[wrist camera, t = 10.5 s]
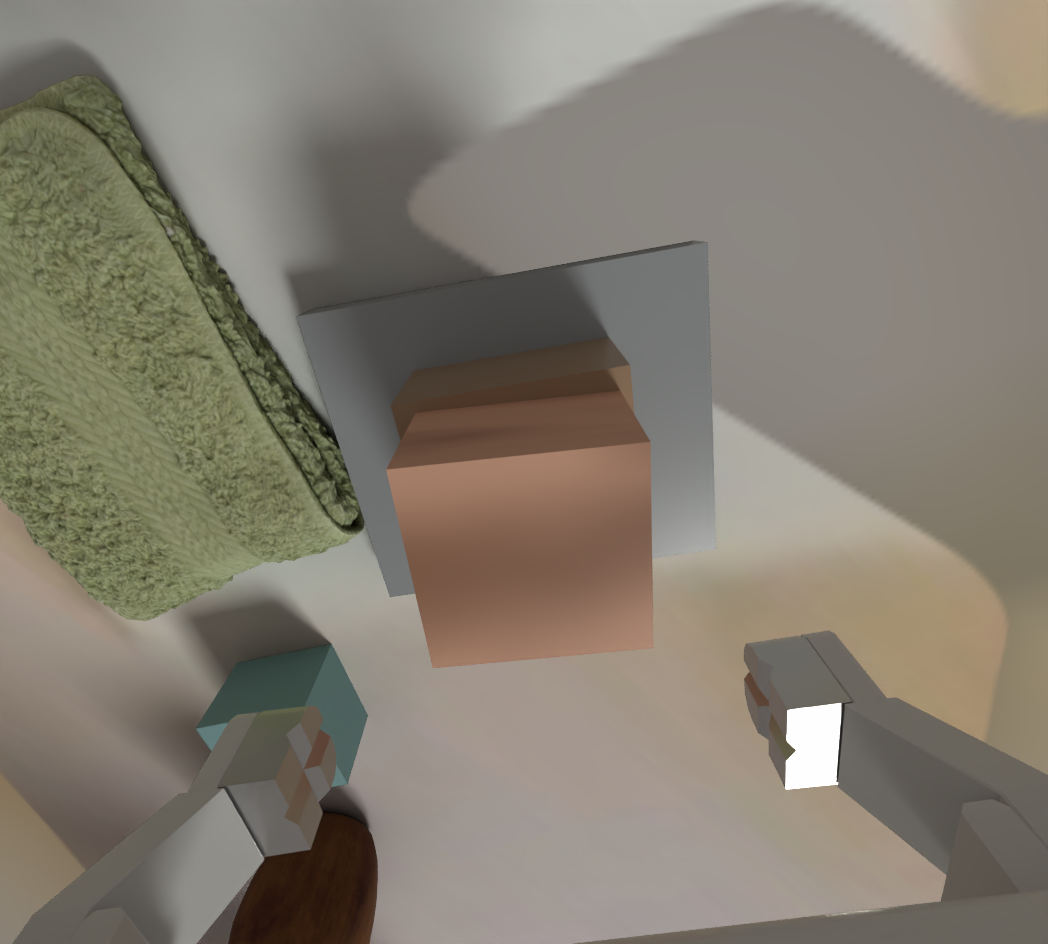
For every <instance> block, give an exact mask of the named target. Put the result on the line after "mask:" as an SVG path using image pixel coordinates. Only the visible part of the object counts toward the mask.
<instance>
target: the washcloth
mask: <svg viewBox="0 0 1048 944" xmlns="http://www.w3.org/2000/svg"><path fill="white" fill-rule="evenodd" d="M141 149H142V147H141V142H139V141H138V140H137V139H136V137H135V136H134V133H133V131H132V130H131V129H130V125H129V122H128V120H127V119H126V117H125V115H124V113H123V111H122V101H121V100H120V98H119V97H118V96H116V95H115V94H114V93H113V92H112V91H111V90H110V89H109V87H108V86H107V85H106V84H105V83H103V82H102V81H101V80H100V79H99V78H98V77H95V76H73V77H72V78H70V79H68V80H64V81H61V82H59V83H57V84H54V85H52V86H50V87H48V88H46V89H44V90H40V91H38V92H37V93H36V94H35V95H34V96H33V97H32V98H30V99H28V100H26V101H23V102H21V103H19V104H17V105H15V106H10V107H9V108H7V109H2V110H0V497H1V499H2V501H3V502H4V503H6V504H7V506H8V508H9V510H10V511H12V512H13V513H15V514H16V515H18V516H20V517H21V518H22V519H23V521H24V524H25V525H26V528H27V532H28V533H29V534H30V536H31V538H32V539H33V541H34V544H36V545H37V546H39V547H42V548H44V549H46V550H47V551H48V554H49V555H50V557H51V558H52V559H53V560H55V561H57V562H59V564H60V566H61V567H62V568H63V569H65V570H67V571H68V572H69V573H70V575H71V576H73V577H75V579H76V580H77V581H78V583H79V584H80V585H81V586H82V587H83V588H84V589H85V590H86V591H87V592H88V596H89V597H91V598H94V599H95V600H96V601H97V602H101V603H104V605H105V606H109V607H110V608H112V609H113V611H114V612H117V613H119V615H121V616H123V617H124V618H126V619H132V620H140V621H146V620H150V619H152V618H155V617H157V616H159V615H160V614H162V613H165V612H167V611H168V610H169V609H171V608H174V609H175V608H177V607H178V606H180V605H181V604H184V603H187V602H189V601H191V600H192V599H194V598H196V597H197V596H199V595H201V594H203V593H204V592H206V591H212V590H217V589H220V588H221V587H222V586H223V585H224V584H225V583H226V582H228V581H232V579H233V575H234V574H238V573H241V572H244V571H246V570H247V569H251V568H253V567H255V566H257V565H260V564H261V563H263V562H278V563H279V562H282V561H283V560H291V561H294V560H295V559H297V558H300V557H305V556H307V555H312V554H319V553H323V552H325V551H326V550H327V549H328V548H330V547H334V546H338V545H342V544H345V543H347V542H348V541H349V540H350V539H351V538H353V537H354V536H356V535H357V534H359V533H360V532H361V531H362V530H363V528H364V518H363V515H362V512H361V509H360V506H359V503H358V500H357V497H356V494H355V491H354V488H353V485H352V482H351V479H350V476H349V473H348V470H347V467H346V464H345V461H344V459H343V456H342V453H341V450H340V447H339V445H338V444H337V443H336V442H335V441H334V440H333V439H332V438H331V437H328V435H327V430H326V428H325V427H324V426H322V425H321V424H320V422H319V420H318V419H317V417H316V416H315V414H314V413H313V411H312V409H311V407H310V406H309V404H308V403H307V402H306V401H305V400H304V399H303V398H301V397H300V395H299V393H298V392H297V391H296V389H295V388H294V387H293V385H292V378H291V376H290V374H289V373H288V372H287V371H286V369H285V368H284V367H283V366H282V364H281V363H280V361H279V360H278V358H277V356H276V354H275V353H274V352H273V350H272V348H271V347H269V346H268V345H267V344H266V343H265V341H264V340H263V338H262V337H261V336H260V334H259V329H258V328H256V327H255V326H254V324H253V323H252V322H250V321H248V318H247V314H246V312H245V311H244V310H243V309H242V307H241V305H240V304H239V303H238V299H239V296H238V295H237V294H236V293H235V292H234V291H233V289H231V288H230V285H229V284H226V283H227V281H228V280H229V278H228V275H226V274H223V273H218V269H219V265H218V264H216V263H215V262H213V261H210V260H209V256H208V249H207V248H206V247H202V246H201V245H200V243H199V240H198V239H197V238H193V237H192V233H191V231H190V227H189V223H188V222H187V218H186V217H184V216H183V215H182V210H181V209H180V208H178V207H175V206H174V204H173V202H172V196H171V194H170V193H168V192H163V190H162V188H161V186H160V185H159V183H158V180H157V175H156V172H155V171H154V170H153V165H152V162H151V161H149V160H148V159H147V158H145V155H144V154H143V153H142V152H141Z"/></svg>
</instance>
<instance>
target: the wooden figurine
mask: <svg viewBox="0 0 1048 944" xmlns="http://www.w3.org/2000/svg"><path fill="white" fill-rule="evenodd" d="M377 882H378V864H377V855H376V850H375V845H374V841H373V838H372V835H371V833H370V832H369V830H368V829H367V828H366V827H365V826H364V825H363V824H362V823H360V822H358V821H357V820H355V819H353V818H351V817H348V816H345V815H342V814H338V813H328V812H323V814H322V817H321V820H320V823H319V826H318V829H317V832H316V835H315V838H314V841H313V844H312V847H311V850H305V851H299V852H292V853H286V854H280V855H273V856H267V857H265V858H264V861H263V862H262V864H261V865H260V866H259V868H258V870H257V871H256V873H255V875H254V877H253V878H252V881H251V883H250V885H249V887H248V889H247V891H246V893H245V895H244V897H243V900H242V902H241V904H240V907H239V909H238V912H237V914H236V917H235V919H234V921H233V925H232V930H231V934H230V939H229V944H369V943H370V938H371V932H372V927H373V922H374V915H375V908H376V900H377Z"/></svg>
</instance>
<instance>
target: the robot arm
mask: <svg viewBox="0 0 1048 944" xmlns="http://www.w3.org/2000/svg"><path fill="white" fill-rule="evenodd" d="M744 662H745V663H746V665H747V667H748V669H749V671H750V672H749V673H748V675H747V676H746V677H745V679H744V686H745V696H746V701H747V706H748V710H749V712H750V715H751V718H752V721H753V723H754V725H755V727H756V729H757V731H758V733H759V734H761V735H762V736H764V737H765V738H767V739H768V740H769V756H770V758H771V760H772V762H773V764H774V766H775V768H776V770H777V772H778V774H779V776H780V778H781V780H782V782H783V784H784V786H785V788H786V789H793V788H803V787H813V786H823V785H833V784H838V787H839V788H840V789H841V790H842V791H843V792H845V793H846V794H847V795H848V796H850V797H851V798H852V799H853V800H855V801H856V802H857V803H858V804H860V805H861V806H862V807H863V808H864V809H866V810H867V811H868V812H869V813H871V814H872V815H873V816H874V817H876V818H877V819H878V820H879V821H880V822H882V823H883V824H884V825H885V826H887V827H888V828H889V829H890V830H892V831H893V832H894V833H895V834H897V835H898V836H899V837H900V838H901V839H903V840H904V841H905V842H906V843H908V844H909V845H910V846H911V847H913V848H914V849H915V850H916V851H918V852H919V853H920V854H921V855H922V856H924V857H925V858H926V859H927V860H929V861H930V862H931V863H932V864H934V865H935V866H936V867H937V868H938V869H940V870H941V871H942V872H943V873H945V874H946V875H947V876H946V880H945V885H944V889H943V894H942V898H941V902H932V903H924V904H915V905H906V906H898V907H889V908H880V909H871V910H863V911H854V912H845V913H837V914H828V915H819V916H810V917H802V918H793V919H784V920H776V921H767V922H758V923H749V924H741V925H732V926H723V927H715V928H706V929H697V930H688V931H680V932H671V933H662V934H654V935H645V936H636V937H627V938H619V939H610V940H601V941H592V942H584V943H575V944H1048V775H1047V774H1045V773H1043V772H1041V771H1039V770H1037V769H1035V768H1033V767H1031V766H1029V765H1027V764H1025V763H1023V762H1021V761H1020V760H1017V759H1016V758H1013V757H1012V756H1010V755H1008V754H1006V753H1004V752H1002V751H1000V750H998V749H996V748H994V747H992V746H990V745H988V744H986V743H984V742H982V741H980V740H978V739H977V738H975V737H973V736H971V735H969V734H967V733H965V732H963V731H961V730H959V729H957V728H955V727H953V726H951V725H949V724H947V723H945V722H943V721H941V720H939V719H937V718H936V717H934V716H932V715H930V714H928V713H926V712H924V711H922V710H920V709H918V708H916V707H914V706H912V705H910V704H908V703H906V702H904V701H902V700H900V699H898V698H887V697H886V696H885V695H884V694H883V692H882V691H881V690H880V689H879V688H878V686H877V685H876V684H875V683H874V681H873V680H872V679H871V678H870V676H869V675H868V674H867V673H866V671H865V670H864V669H863V668H862V667H861V665H860V664H859V663H858V662H857V660H856V659H855V658H854V657H853V655H852V654H851V653H850V652H849V650H848V649H847V648H846V647H845V646H844V644H843V643H842V642H841V641H840V639H839V638H838V637H837V636H836V634H834V633H833V632H831V631H823V632H817V633H811V634H804V635H801V636H793V637H786V638H779V639H773V640H766V641H760V642H753V643H746V645H745V648H744ZM322 722H323V718H322V716H321V714H320V712H319V710H318V708H317V707H315V706H303V707H294V708H286V709H277V710H269V711H262V712H257V713H248V714H238V715H236V716H235V717H234V718H232V719H231V720H230V721H229V722H228V724H227V726H226V728H225V729H224V731H223V733H222V734H221V736H220V738H219V739H218V741H217V743H216V744H215V746H214V748H213V750H212V751H211V753H210V755H209V756H208V758H207V760H206V761H205V763H204V765H203V766H202V768H201V770H200V772H199V773H198V775H197V777H196V778H195V780H194V782H193V783H192V785H191V787H190V788H189V790H188V792H187V793H183V794H178V795H177V796H176V797H175V798H173V799H172V800H171V801H170V802H169V803H167V804H166V805H165V806H164V807H163V808H161V809H160V810H159V811H158V812H157V813H155V814H154V815H153V816H152V817H151V818H149V819H148V820H147V821H146V822H145V823H143V824H142V825H141V826H140V827H138V828H137V829H136V830H135V831H134V832H132V833H131V834H130V835H129V836H128V837H126V838H125V839H124V840H123V841H122V842H120V843H119V844H118V845H117V846H116V847H114V848H113V849H112V850H111V851H110V852H108V853H107V854H106V855H105V856H103V857H102V858H101V859H100V860H99V861H97V862H96V863H95V864H94V865H93V866H91V867H90V868H89V869H88V870H87V871H85V872H84V873H83V874H82V875H81V876H80V877H78V878H77V879H76V880H75V881H73V882H72V883H71V884H70V885H69V886H67V887H66V888H65V889H64V890H62V891H61V892H60V893H59V894H58V895H56V896H55V897H54V898H53V899H52V900H50V901H49V902H48V903H47V904H46V905H44V906H43V907H42V908H41V909H40V910H38V911H37V912H36V913H35V914H33V915H32V917H31V918H30V920H29V921H28V923H27V924H26V925H25V927H24V928H23V930H22V931H21V933H20V934H19V935H18V937H17V938H16V939H15V941H14V942H13V944H197V942H198V941H199V940H200V939H201V938H202V936H203V935H204V934H205V933H206V931H207V930H208V929H209V928H210V926H211V925H212V924H213V923H214V921H215V920H216V919H217V918H218V917H219V915H220V914H221V913H222V912H223V910H224V909H225V908H226V907H227V905H228V904H229V903H230V902H231V901H232V899H233V898H234V897H235V896H236V894H237V893H238V892H239V891H240V889H241V888H242V887H243V886H244V884H245V883H246V882H247V881H248V880H249V878H250V877H251V876H252V875H253V873H254V872H255V871H256V870H257V868H258V867H259V866H260V865H261V864H262V862H263V861H264V857H267V856H273V855H280V854H286V853H292V852H299V851H305V850H311V847H312V844H313V841H314V838H315V835H316V832H317V829H318V826H319V823H320V820H321V817H322V814H323V812H322V809H321V807H320V805H319V801H320V800H321V799H322V798H323V797H324V796H325V795H326V794H327V793H328V792H329V791H330V790H331V787H332V783H333V780H334V777H335V771H336V752H335V746H334V743H333V741H332V738H331V736H329V735H328V734H326V733H325V732H323V731H322V730H320V727H321V724H322Z"/></svg>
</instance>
